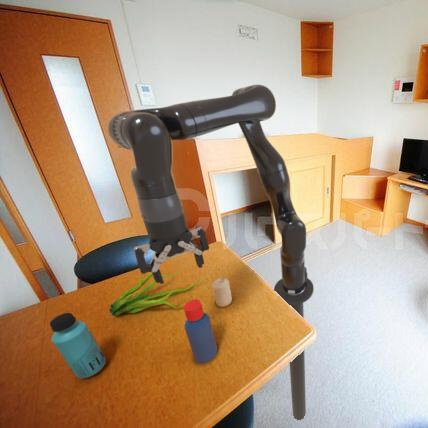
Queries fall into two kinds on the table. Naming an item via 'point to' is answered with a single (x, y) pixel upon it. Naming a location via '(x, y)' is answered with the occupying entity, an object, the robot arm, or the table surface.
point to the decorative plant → (143, 297)
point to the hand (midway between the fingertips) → (181, 273)
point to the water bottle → (201, 339)
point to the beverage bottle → (77, 345)
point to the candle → (222, 292)
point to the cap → (193, 310)
